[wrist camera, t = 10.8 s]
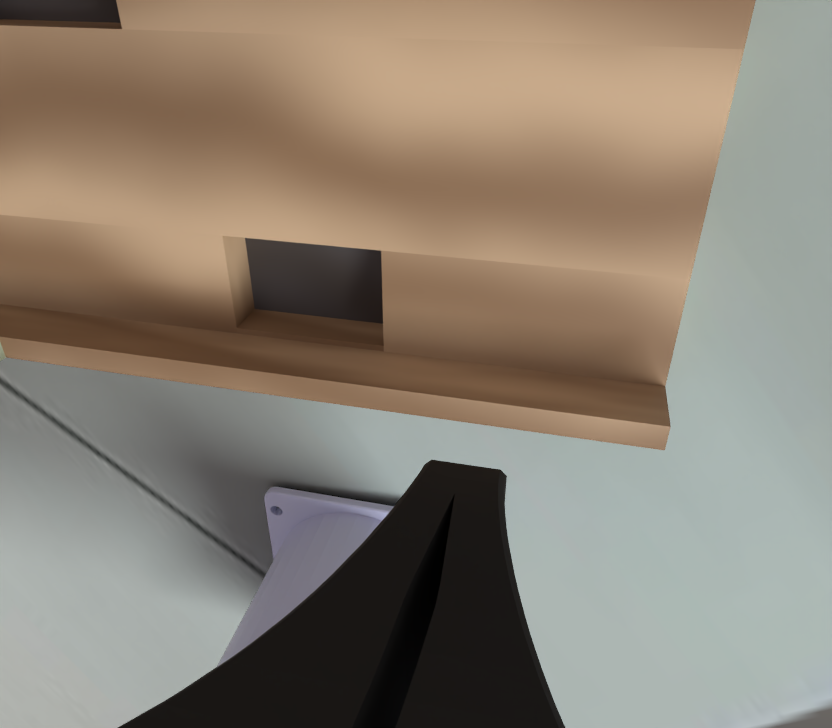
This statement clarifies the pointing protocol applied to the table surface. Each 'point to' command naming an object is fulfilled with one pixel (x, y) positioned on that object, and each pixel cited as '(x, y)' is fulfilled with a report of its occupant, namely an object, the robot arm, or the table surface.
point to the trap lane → (366, 198)
